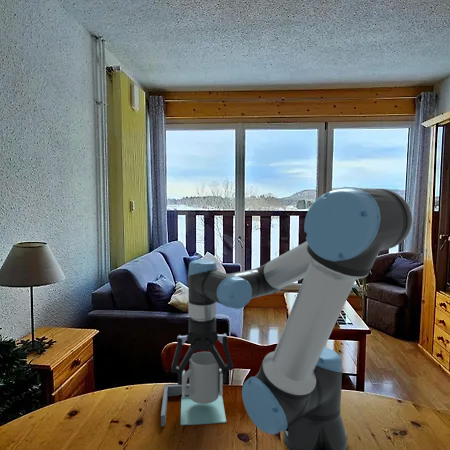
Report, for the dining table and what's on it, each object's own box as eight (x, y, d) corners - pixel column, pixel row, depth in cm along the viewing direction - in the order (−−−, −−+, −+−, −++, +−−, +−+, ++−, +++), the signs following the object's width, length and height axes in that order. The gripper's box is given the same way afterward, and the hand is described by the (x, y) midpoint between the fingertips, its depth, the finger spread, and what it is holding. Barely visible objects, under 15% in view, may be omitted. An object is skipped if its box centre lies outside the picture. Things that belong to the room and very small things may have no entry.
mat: (221, 395, 110) (221, 394, 110) (226, 422, 98) (226, 421, 97) (181, 397, 109) (181, 396, 109) (180, 425, 96) (180, 424, 96)
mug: (204, 384, 110) (205, 348, 109) (225, 395, 105) (226, 358, 103) (172, 400, 102) (172, 362, 101) (193, 413, 96) (193, 373, 95)
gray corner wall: (216, 391, 112) (216, 382, 112) (220, 423, 97) (220, 412, 97) (164, 394, 111) (164, 385, 110) (161, 426, 96) (160, 415, 96)
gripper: (240, 310, 106) (240, 385, 108) (161, 312, 103) (162, 388, 106) (244, 320, 98) (243, 399, 100) (159, 322, 96) (160, 403, 98)
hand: (202, 394), depth 103 cm, fingers closed on mug, 10 cm apart
